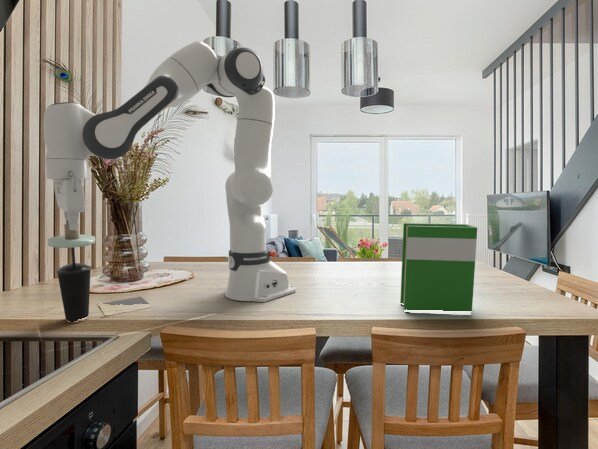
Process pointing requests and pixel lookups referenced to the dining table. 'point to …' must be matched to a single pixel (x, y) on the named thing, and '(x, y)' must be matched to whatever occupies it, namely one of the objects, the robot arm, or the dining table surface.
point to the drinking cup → (75, 289)
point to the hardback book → (438, 266)
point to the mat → (129, 301)
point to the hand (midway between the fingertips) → (71, 228)
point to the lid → (71, 239)
